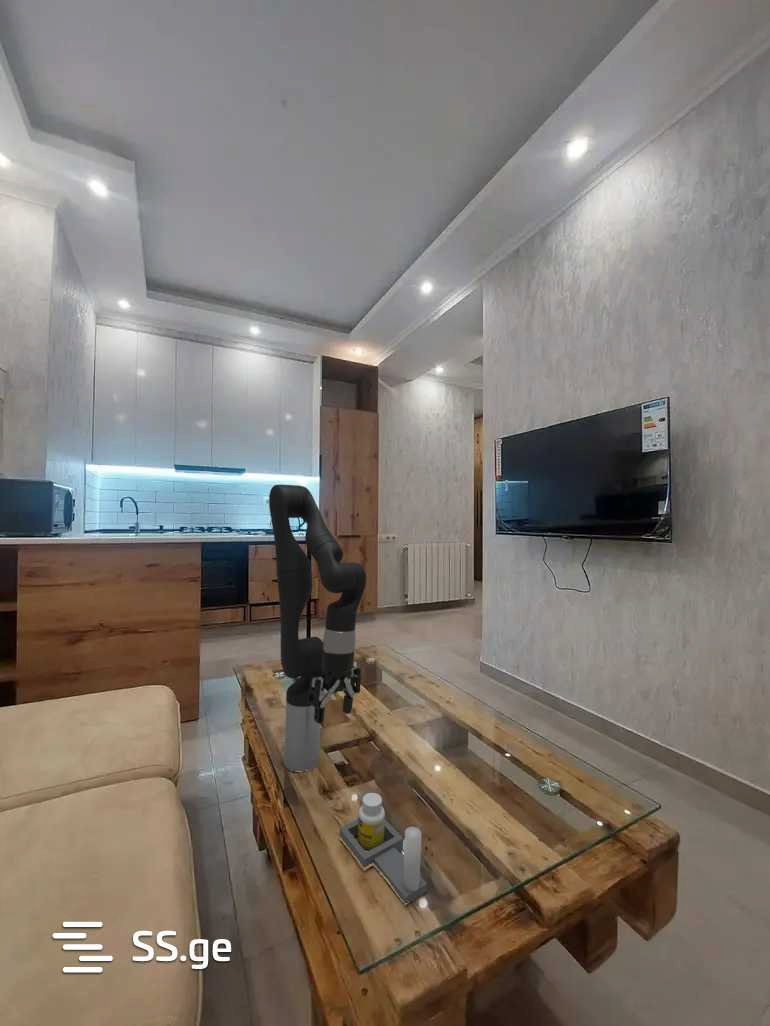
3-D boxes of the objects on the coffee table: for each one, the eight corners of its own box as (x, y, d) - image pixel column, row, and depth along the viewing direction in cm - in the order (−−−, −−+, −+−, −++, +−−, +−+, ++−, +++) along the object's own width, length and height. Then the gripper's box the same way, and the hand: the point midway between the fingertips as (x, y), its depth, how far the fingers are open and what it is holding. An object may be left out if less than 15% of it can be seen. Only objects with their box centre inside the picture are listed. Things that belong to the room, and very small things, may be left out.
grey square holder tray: (339, 839, 89) (341, 787, 89) (376, 820, 95) (378, 771, 94) (395, 913, 74) (397, 850, 73) (435, 886, 79) (438, 827, 79)
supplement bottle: (351, 844, 88) (353, 797, 88) (371, 831, 92) (373, 786, 92) (369, 861, 84) (371, 812, 84) (389, 846, 88) (391, 799, 88)
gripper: (349, 639, 109) (344, 704, 108) (304, 648, 98) (298, 720, 98) (371, 646, 104) (366, 714, 103) (325, 657, 93) (319, 732, 93)
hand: (333, 717), depth 100 cm, fingers open, 8 cm apart
